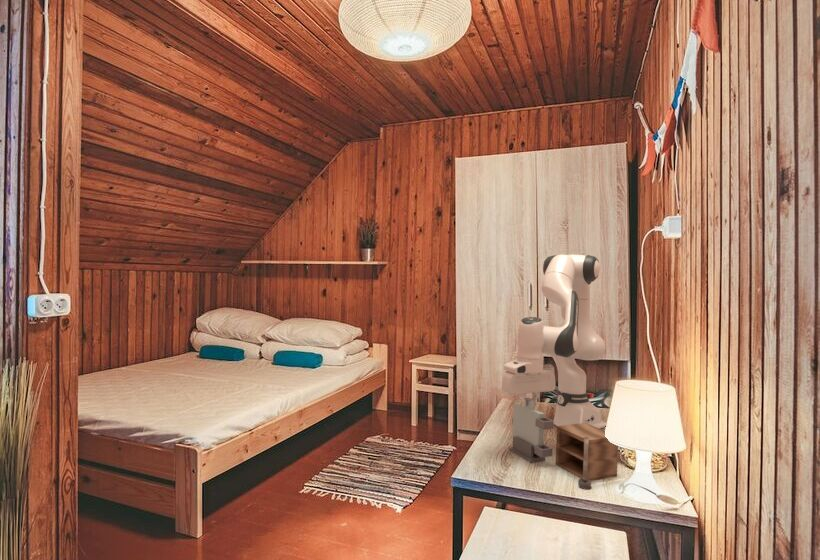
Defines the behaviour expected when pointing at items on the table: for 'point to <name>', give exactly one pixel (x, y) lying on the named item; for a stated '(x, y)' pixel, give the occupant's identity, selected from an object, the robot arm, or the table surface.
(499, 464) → the table surface
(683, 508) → the table surface
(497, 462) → the table surface
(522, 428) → the door
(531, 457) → the door stand
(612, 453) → the cabinet
